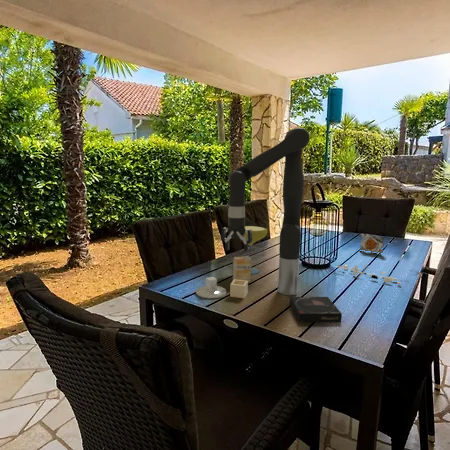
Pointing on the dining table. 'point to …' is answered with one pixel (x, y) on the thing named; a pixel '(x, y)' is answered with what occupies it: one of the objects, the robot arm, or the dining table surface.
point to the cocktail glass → (255, 238)
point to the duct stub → (211, 289)
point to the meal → (372, 243)
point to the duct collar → (238, 288)
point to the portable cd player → (315, 309)
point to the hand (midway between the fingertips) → (236, 250)
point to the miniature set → (369, 273)
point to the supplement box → (242, 268)
